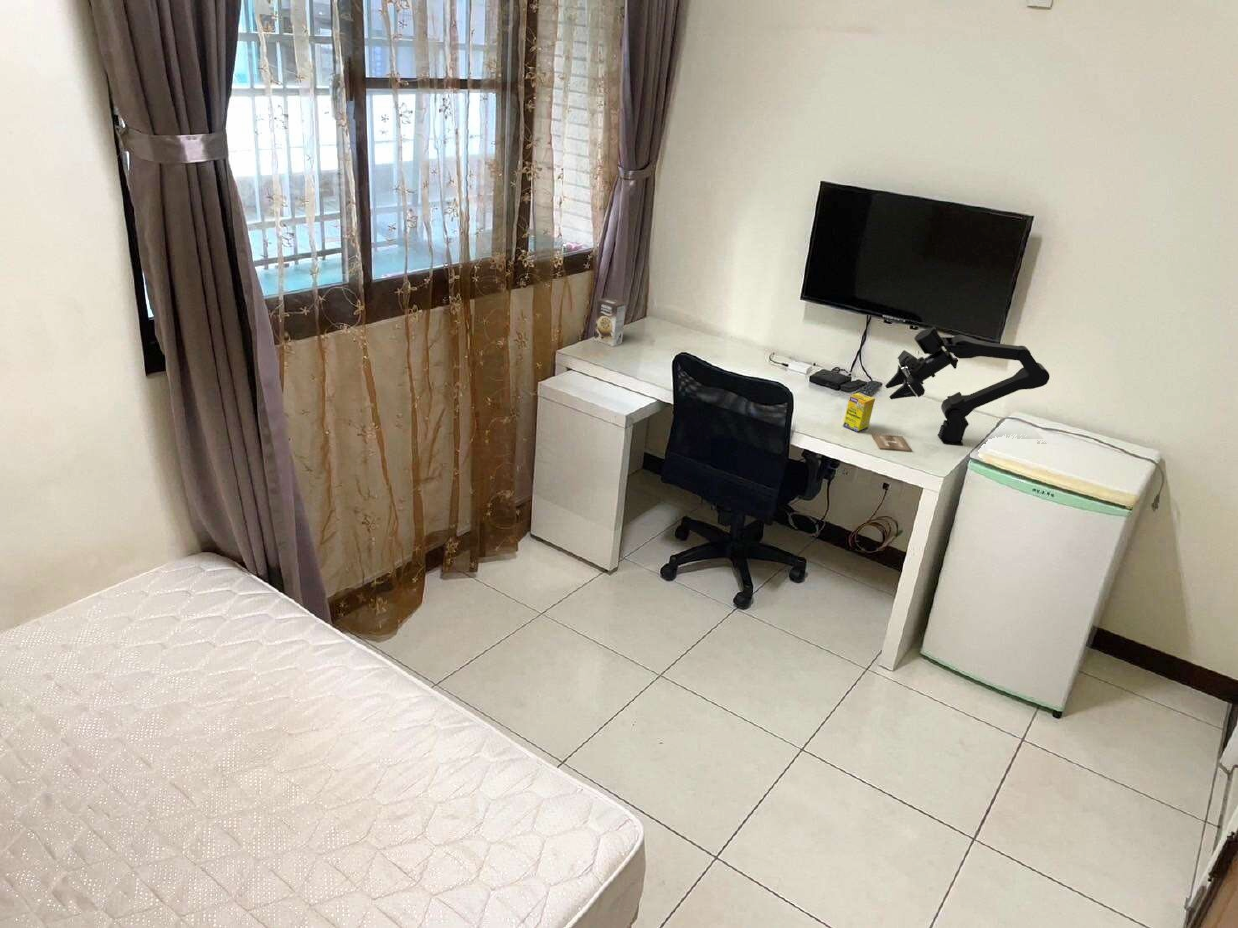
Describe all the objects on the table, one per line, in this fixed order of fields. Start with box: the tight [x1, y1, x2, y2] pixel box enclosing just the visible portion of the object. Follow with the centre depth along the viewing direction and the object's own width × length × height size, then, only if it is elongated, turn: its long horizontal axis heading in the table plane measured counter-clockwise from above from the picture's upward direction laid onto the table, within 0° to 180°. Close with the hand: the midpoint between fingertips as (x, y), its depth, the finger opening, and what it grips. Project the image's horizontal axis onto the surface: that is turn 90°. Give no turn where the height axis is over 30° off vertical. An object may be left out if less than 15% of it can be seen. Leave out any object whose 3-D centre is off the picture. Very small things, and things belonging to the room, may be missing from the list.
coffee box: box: [594, 297, 627, 347], centre depth 335 cm, size 9×6×16 cm
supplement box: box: [842, 391, 876, 434], centre depth 285 cm, size 6×6×11 cm
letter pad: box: [870, 433, 912, 453], centre depth 279 cm, size 10×10×1 cm
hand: (888, 392), depth 281 cm, fingers open, 9 cm apart
